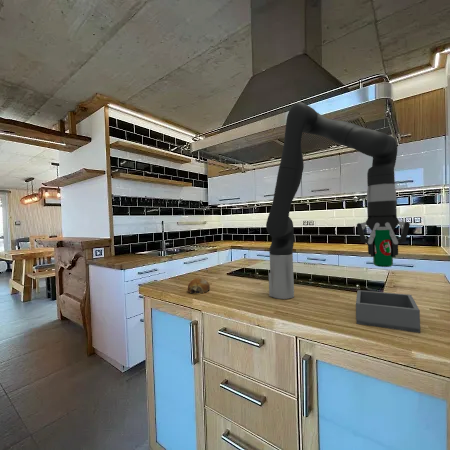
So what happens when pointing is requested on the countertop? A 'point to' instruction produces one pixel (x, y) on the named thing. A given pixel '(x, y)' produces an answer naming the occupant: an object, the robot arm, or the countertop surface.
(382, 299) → the bin
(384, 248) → the soda can
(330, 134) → the robot arm
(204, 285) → the bread roll
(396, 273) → the countertop surface
